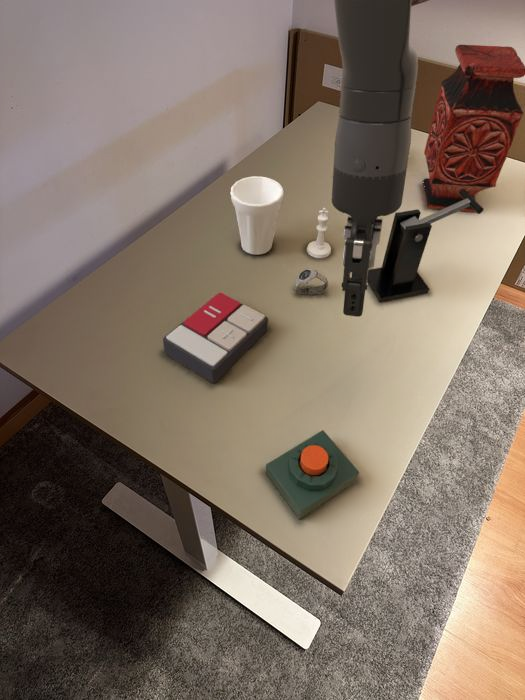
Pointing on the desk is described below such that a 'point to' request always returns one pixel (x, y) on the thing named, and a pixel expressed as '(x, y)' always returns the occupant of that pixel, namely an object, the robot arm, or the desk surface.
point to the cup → (257, 211)
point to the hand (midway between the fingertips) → (356, 295)
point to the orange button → (314, 460)
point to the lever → (445, 211)
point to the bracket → (401, 261)
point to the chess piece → (320, 239)
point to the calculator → (215, 336)
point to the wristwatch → (306, 278)
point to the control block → (311, 476)
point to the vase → (472, 124)
